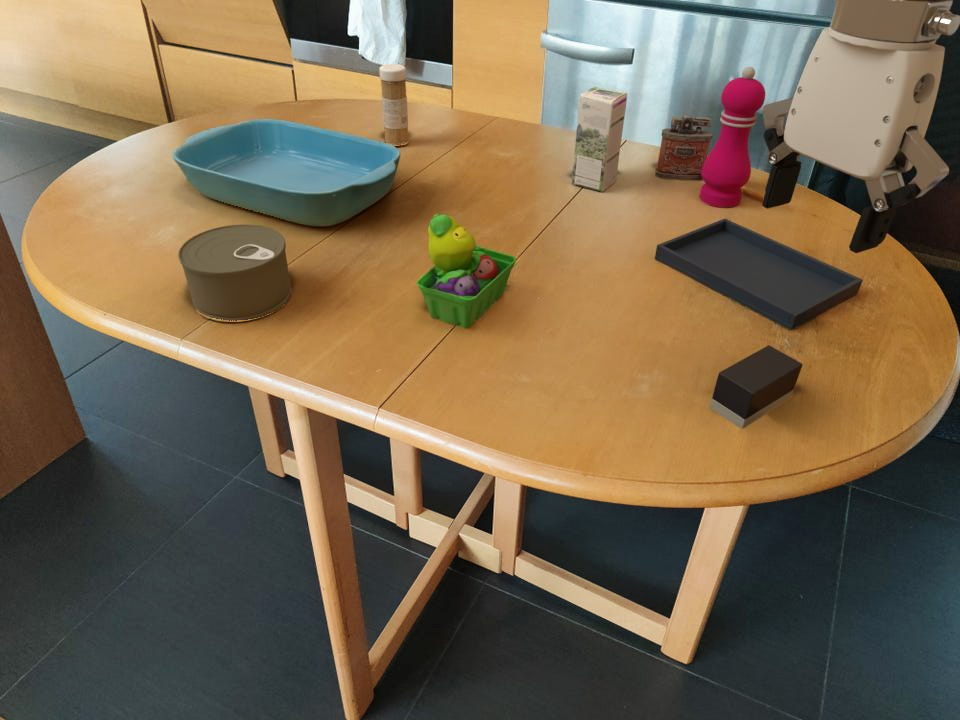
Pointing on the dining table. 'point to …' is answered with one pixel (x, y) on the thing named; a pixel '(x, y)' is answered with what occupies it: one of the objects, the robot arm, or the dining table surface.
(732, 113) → the pepper mill
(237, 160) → the casserole dish
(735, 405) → the eraser
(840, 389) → the dining table surface
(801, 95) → the robot arm
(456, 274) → the fruit basket
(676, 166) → the lighter
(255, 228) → the can
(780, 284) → the tray
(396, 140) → the sprinkles bottle
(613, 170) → the syrup box
